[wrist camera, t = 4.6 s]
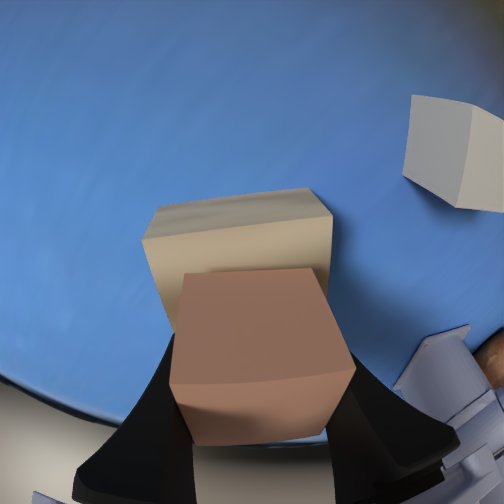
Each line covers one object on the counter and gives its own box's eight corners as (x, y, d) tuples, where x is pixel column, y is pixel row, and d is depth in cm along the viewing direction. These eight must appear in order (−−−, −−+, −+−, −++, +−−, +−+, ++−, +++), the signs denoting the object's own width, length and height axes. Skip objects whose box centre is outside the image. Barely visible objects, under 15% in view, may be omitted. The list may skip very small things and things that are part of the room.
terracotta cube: (297, 348, 14) (320, 434, 9) (198, 354, 13) (196, 445, 9) (311, 267, 11) (356, 368, 7) (184, 273, 11) (169, 383, 6)
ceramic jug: (440, 369, 29) (481, 450, 17) (513, 299, 24) (566, 369, 12) (456, 390, 36) (484, 446, 24) (511, 340, 32) (545, 392, 20)
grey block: (453, 181, 15) (503, 212, 11) (401, 174, 15) (455, 207, 10) (464, 113, 12) (520, 130, 8) (410, 94, 12) (472, 104, 8)
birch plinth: (305, 299, 19) (321, 342, 15) (189, 314, 19) (185, 360, 15) (307, 186, 15) (333, 215, 11) (159, 204, 14) (141, 240, 11)
